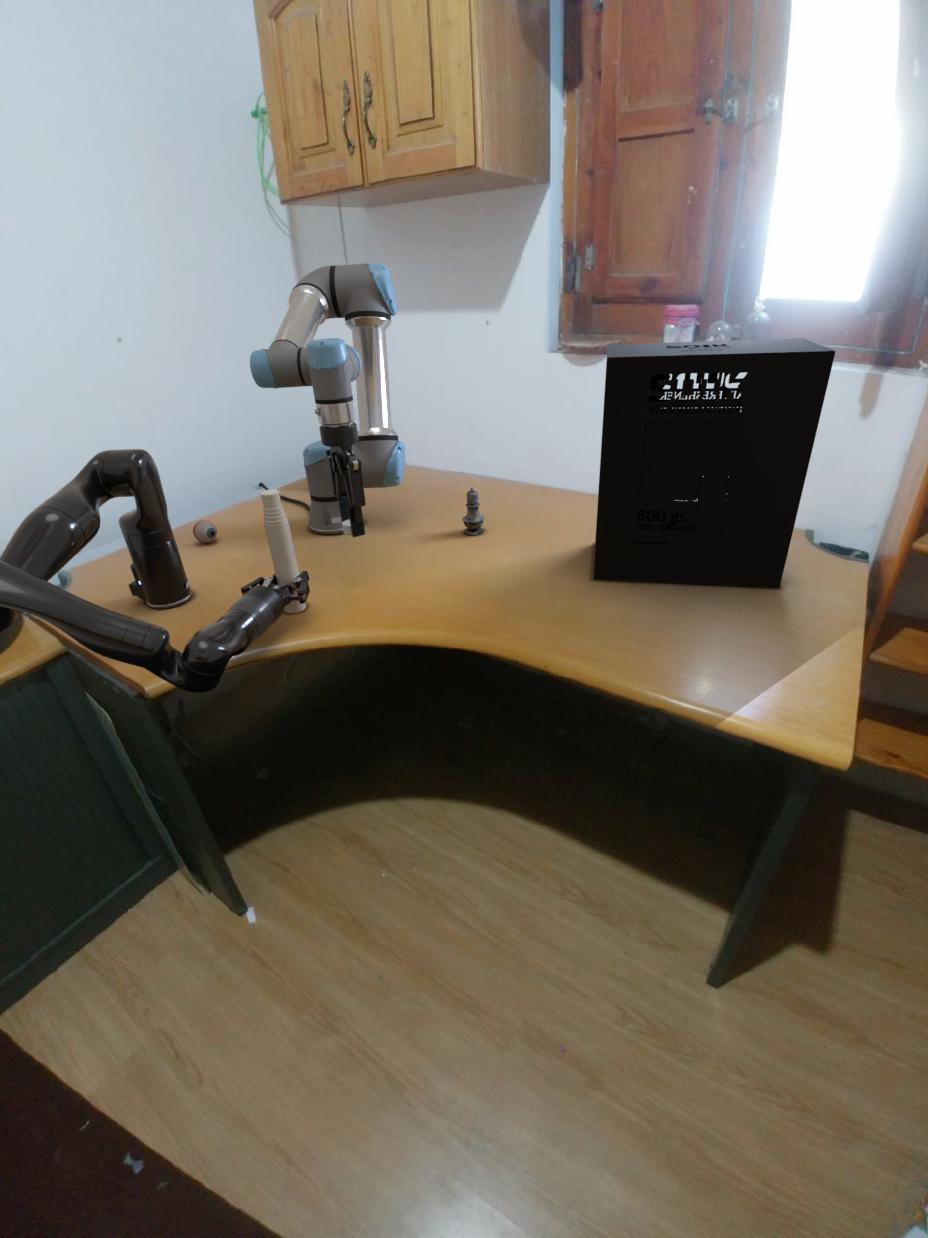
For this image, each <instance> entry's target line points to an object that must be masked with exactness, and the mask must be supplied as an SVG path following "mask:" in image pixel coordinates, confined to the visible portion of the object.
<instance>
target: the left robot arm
mask: <svg viewBox="0 0 928 1238" xmlns="http://www.w3.org/2000/svg"><path fill="white" fill-rule="evenodd" d="M116 498H134V502H135V508H133V509H131V510H129V511H127V512H125V513H123V514H122V515H120V516H119V518H118V525H119V529H120V532H121V533H122V537H123V539H124V542H125V545H126V547H127V550H128V554H129V556H130V558H131V561H132V563H131V564H130V567H129V568H130V571H131V574H132V575H133V579H134V580H133V581H131V582H130V583H129V584H128V588H129V590H130V594H131V596H132V597H138V598H139V599H140V600H142V604H143V605H145V606H147V607H148V608H150V609H153V610H165V609H171V608H175V607H178V606H181V605H182V604H185V603H186V602H188V601H190V599H191V598H192V597H193V591H192V589H191V586H190V583H191V580H190V578H188V577H187V574H186V570H185V567H184V564H183V561H182V557H181V554H180V551H179V548H178V545H177V541H176V538H175V535H174V532H173V528H172V525H171V522H170V518H169V515H168V505H167V499H166V496H165V492H164V488H163V484H162V481H161V476H160V473H159V469H158V466H157V463H156V461H155V459H154V457H153V456H152V455H151V454H150V453H149V452H148V451H147V450H145V449H142V448H121V449H106V450H102V451H99V452H98V453H96V454H95V455H93V456H92V457H91V459H89V460H88V462H87V463H86V464H85V465H84V466H83V468H81V469H80V471H79V472H78V473H77V474H76V475H75V476H74V477H72V479H71V480H70V481H69V482H67V483H66V484H65V485H64V486H62V487H61V488H60V489H59V490H58V491H56V492H55V493H53V495H52V496H50V497H49V498H47V499H46V500H44V501H43V502H42V503H41V504H39V505H38V506H37V507H35V508H34V509H33V510H32V511H31V512H30V513H28V514H27V515H26V516H25V517H24V518H23V520H22V521H21V522H20V523H19V525H18V526H17V528H16V529H15V531H14V533H13V534H12V535H11V538H10V540H9V541H8V542H7V544H6V546H5V548H4V549H3V551H2V552H1V555H0V634H1V633H4V631H6V630H8V629H9V628H10V627H11V626H13V624H14V623H15V622H16V621H17V620H18V618H19V616H20V615H21V614H22V613H27V614H29V615H32V616H34V617H37V618H39V619H41V620H44V621H45V622H47V623H49V624H51V625H52V626H54V627H56V628H57V629H59V630H60V631H61V632H63V633H65V634H66V635H68V636H69V637H70V638H72V639H73V640H75V641H76V642H77V643H78V644H80V645H82V646H83V647H84V648H86V649H88V650H90V651H91V652H93V653H95V654H97V655H99V656H102V657H105V658H108V659H111V660H114V661H117V662H121V663H123V664H128V665H131V666H135V667H138V668H142V669H145V670H146V671H148V672H149V673H151V674H152V675H155V676H156V677H158V678H159V679H161V680H163V681H165V682H166V683H169V684H170V685H172V686H174V687H175V688H177V689H180V690H182V691H184V692H188V693H196V694H202V693H203V694H204V693H208V692H210V691H212V690H214V689H215V688H216V687H217V686H218V685H219V683H220V682H221V679H222V677H223V675H224V672H225V670H226V668H227V666H228V664H229V663H230V661H231V659H232V658H233V657H237V656H240V655H242V654H243V653H244V652H245V651H246V650H248V649H249V647H251V645H252V644H253V643H254V642H255V641H256V640H257V639H258V638H260V637H261V636H263V634H265V633H266V631H268V629H270V628H271V626H272V625H273V624H274V623H275V622H276V621H277V620H278V619H279V618H280V617H281V616H282V614H283V612H284V607H285V606H286V605H287V604H290V603H291V602H292V601H296V600H298V601H299V602H300V604H304V603H306V602H307V601H308V597H309V596H310V593H311V589H310V585H309V581H310V579H311V578H310V574H309V572H308V571H307V570H302V571H301V572H299V575H298V576H297V577H296V579H294V580H292V581H289V580H288V581H286V582H284V583H282V584H280V585H278V583H277V578H276V574H275V572H274V573H273V574H272V575H270V576H267V577H266V578H265V577H263V576H259V577H258V578H257V577H256V579H253V581H251V582H249V583H247V584H245V585H244V586H242V587H240V592H241V597H240V598H238V600H236V601H235V602H234V603H233V604H232V605H231V606H230V607H229V609H228V610H227V611H226V612H225V613H224V614H223V615H222V616H221V617H220V618H218V619H217V621H215V622H214V623H211V624H208V625H207V626H205V627H203V628H201V629H199V630H198V631H197V632H195V633H194V634H193V635H192V636H191V637H190V638H189V639H188V641H187V642H186V644H185V646H184V648H183V651H182V652H181V651H180V650H178V649H177V648H175V647H173V646H172V645H171V636H170V632H169V631H168V629H166V628H164V627H162V626H160V625H157V624H154V623H150V622H148V621H144V620H141V619H139V618H136V617H132V616H129V615H126V614H123V613H119V612H116V611H114V610H111V609H108V608H106V607H104V606H101V605H98V604H95V603H94V602H92V601H89V600H87V599H84V598H83V597H80V596H78V595H76V594H75V593H73V592H70V591H67V590H66V589H64V588H61V587H60V586H57V585H55V584H54V583H51V582H49V581H50V580H51V579H52V578H53V577H55V575H57V574H58V573H59V572H60V571H61V570H62V569H63V568H65V566H66V565H68V563H69V562H70V561H72V559H73V558H75V557H76V556H77V555H78V554H79V553H81V552H82V550H83V549H84V548H85V547H86V546H87V545H88V544H90V543H91V542H92V541H93V540H94V538H95V537H96V536H97V534H98V533H99V530H100V528H101V514H100V513H101V512H100V510H99V509H100V508H101V507H102V506H103V505H104V504H106V503H107V502H108V501H110V500H112V499H116ZM295 584H296V586H297V588H295ZM306 604H307V603H306Z"/></svg>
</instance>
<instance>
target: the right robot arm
mask: <svg viewBox="0 0 928 1238" xmlns="http://www.w3.org/2000/svg"><path fill="white" fill-rule="evenodd" d="M397 308H398V307H397V299H396V294H395V289H394V285H393V281H392V277H391V274H390V271H389V269H388V267H387V266H386V265H385V264H383V263H380V262H379V263H378V262H377V263H376V262H375V263H373V262H372V263H370V262H366V263H356V264H353V263H352V264H337V265H324V266H321V267H319V268H315V269H314V270H312V271H311V272H308V274H306V275H305V276H303V277H302V278H301V279H300V280H299V281H298V282H297V283H296V284H295V286H294V287H293V288H292V290H291V292H290V294H289V297H288V309H287V311H286V312H285V315H284V317H283V319H282V320H281V323H280V325H279V327H278V329H277V331H276V333H275V335H274V337H273V339H272V342H271V343H270V345H269V346H268V348H262V349H256V350H253V351H252V352H251V354H250V356H249V369H250V373H251V376H252V379H253V381H254V383H255V384H256V385H257V387H259V388H262V389H284V388H285V389H286V388H299V387H300V388H302V387H312V393H313V398H314V404H315V409H314V414H315V415H317V421H318V423H319V424H320V426H319V427H318V429H319V436H320V440H316V441H314V442H312V443H309V444H308V445H306V446H305V447H304V448H303V450H302V457H303V467H304V471H305V477H306V481H307V486H308V492H309V498H310V505H309V504H308V503H306V502H304V501H302V500H298V499H295V498H291V497H288V496H284V495H281V494H280V499H281V500H285V501H288V502H292V503H297V504H300V505H302V506H304V507H305V508H306V509H307V510H308V511H309V513H308V528H309V529H308V530H310V531H311V532H312V533H314V534H317V535H323V536H324V535H325V536H327V535H329V536H331V535H339V534H340V535H341V534H344V532H343V526H342V522H343V521H345V520H348V519H350V524H351V530H352V536H351V537H352V538H358V537H361V536H365V535H366V531H365V529H366V528H365V519H364V514H363V508H362V507H365V506H366V496H365V489H378V488H379V489H380V488H381V489H386V488H393V487H394V488H395V487H398V486H399V485H401V484H402V481H403V479H404V475H405V469H406V468H405V466H406V445H405V442H404V441H401V440H399V434H398V433H397V432H396V431H395V430H394V429H393V424H392V422H393V421H392V410H391V409H392V408H391V394H390V391H391V390H390V375H389V360H388V347H387V346H388V344H387V330H388V329H389V327H390V326H391V325H392V317H394V316H396V315H397V313H398V310H397ZM343 318H344V324H345V326H346V327H347V328H348V329H349V330H350V331H351V339H352V345H349V344H347V343H346V341H344V339H342V338H338V337H331V338H330V337H328V338H317V339H315V337H316V334H317V332H318V329H319V327H320V325H322V324H324V323H325V321H326V320H329V319H343ZM354 381H355V391H356V393H355V394H356V404H357V406H355V400H354V396H353V387H352V383H353V382H354ZM356 407H357V412H356ZM356 413H357V414H356ZM357 418H358V425H357V423H356V422H355V421H356V420H357ZM258 487H262V488H263V489H264V490H270V488H269V487H267V486H266V485H265V484H264V483H263V482H259V483H258Z"/></svg>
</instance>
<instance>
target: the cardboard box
mask: <svg viewBox="0 0 928 1238" xmlns="http://www.w3.org/2000/svg"><path fill="white" fill-rule="evenodd" d="M835 356H836V350H834V349H831V348H829V347H827V346H824V345H821V344H819V343H816V342H814V341H812V340H810V339H806V338H804V337H799V338H798V337H797V338H796V337H795V338H794V337H793V338H767V339H766V338H765V339H737V340H736V339H735V340H732V339H731V340H707V341H705V340H703V341H675V342H672V341H671V342H670V341H669V342H648V343H647V342H646V343H645V342H644V343H643V342H642V343H639V342H638V343H613V344H612V343H611V344H609V343H607V349H606V363H605V364H606V365H605V367H606V368H605V381H604V396H603V411H602V412H603V413H602V429H601V444H600V445H601V446H600V461H599V477H598V479H599V480H598V494H597V507H596V508H597V509H596V511H597V512H596V523H595V524H596V525H595V538H594V539H595V540H594V559H593V561H594V562H593V579H592V580H595V581H612V582H613V581H616V582H617V581H618V582H636V583H638V582H639V583H660V584H661V583H662V584H680V585H681V584H682V585H683V584H684V585H706V586H726V587H727V586H729V587H748V588H749V587H750V588H751V587H752V588H770V589H771V588H772V589H780V588H781V583H782V579H783V575H784V571H785V567H786V562H787V558H788V554H789V550H790V545H791V542H792V539H793V538H792V537H793V533H794V529H795V524H796V521H797V516H798V512H799V507H800V505H801V504H800V503H801V499H802V495H803V491H804V488H805V487H804V486H805V483H806V478H807V475H808V474H807V473H808V469H809V465H810V461H811V457H812V452H813V450H814V449H813V448H814V444H815V441H816V437H817V431H818V428H819V423H820V420H821V415H822V410H823V407H824V402H825V398H826V393H827V389H828V385H829V381H830V377H831V372H832V368H833V365H834V360H835ZM741 373H746V374H745V375H744V377H741V378H738V376H739V374H741ZM682 374H684V378H683V381H682V385H681V386H682V388H678V385H679V384H678V383H679V379H678V377H679V376H680V375H682ZM692 374H696V378H695V379H694V378H691V376H692ZM706 374H707V378H705V375H706ZM723 375H724V376H723ZM727 377H729V378H728V381H727V382H728V385H729V384H731V385H732V384H738V385H737V387H727V385H726V379H727ZM722 379H723V380H722ZM694 384H696V385H697V384H698V387H695V388H694ZM708 384H713V388H712V387H711V388H710V387H709V388H708ZM666 386H668V387H669V388H665V387H666Z"/></svg>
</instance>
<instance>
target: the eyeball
mask: <svg viewBox="0 0 928 1238" xmlns="http://www.w3.org/2000/svg"><path fill="white" fill-rule="evenodd" d="M192 535H193V537H194V538H195V540H197V541H198V542H201V543H204V544H205V543H206V544H207V543H211V542H213V541H214V540H215V539H216V538H217V535H218V529H217V527H216V524H214V523H213V522H212V521H210V520H207V519H204V520H203V519H202V520H199V521H197V522H195V524H194V525H193V527H192Z"/></svg>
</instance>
